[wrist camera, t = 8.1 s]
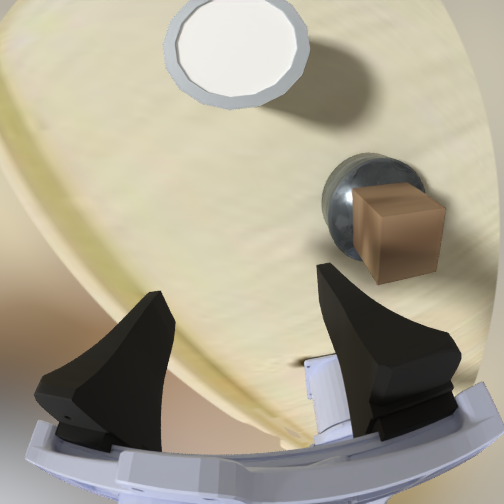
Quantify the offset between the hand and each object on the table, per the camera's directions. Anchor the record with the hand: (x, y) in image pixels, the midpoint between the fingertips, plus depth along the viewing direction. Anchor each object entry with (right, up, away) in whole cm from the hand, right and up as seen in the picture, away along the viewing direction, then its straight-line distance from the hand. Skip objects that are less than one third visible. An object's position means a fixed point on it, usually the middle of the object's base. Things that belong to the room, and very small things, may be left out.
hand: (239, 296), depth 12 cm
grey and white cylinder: (0, +15, +4) cm, 15 cm away
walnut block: (+10, +5, +6) cm, 13 cm away
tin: (+10, +6, +9) cm, 15 cm away
